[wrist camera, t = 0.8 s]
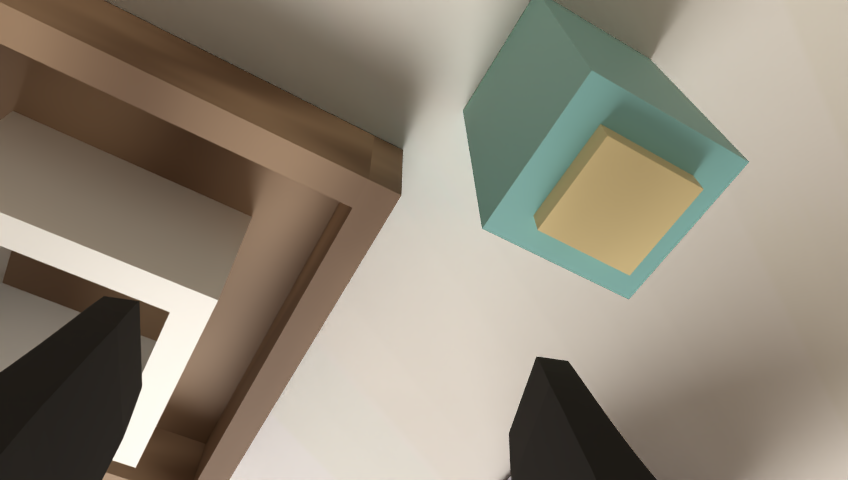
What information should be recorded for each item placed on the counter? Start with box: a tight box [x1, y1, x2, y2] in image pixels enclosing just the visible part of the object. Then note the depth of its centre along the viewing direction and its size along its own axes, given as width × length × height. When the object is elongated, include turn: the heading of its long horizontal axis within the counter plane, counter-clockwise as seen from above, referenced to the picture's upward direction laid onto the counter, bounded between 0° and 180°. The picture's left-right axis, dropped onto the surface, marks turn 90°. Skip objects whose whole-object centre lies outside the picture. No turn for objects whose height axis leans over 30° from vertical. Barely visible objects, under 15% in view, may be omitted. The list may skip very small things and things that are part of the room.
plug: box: [463, 0, 749, 299], centre depth 17 cm, size 4×4×8 cm
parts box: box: [0, 0, 403, 480], centre depth 22 cm, size 14×16×3 cm
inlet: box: [0, 111, 252, 468], centre depth 21 cm, size 8×8×4 cm
